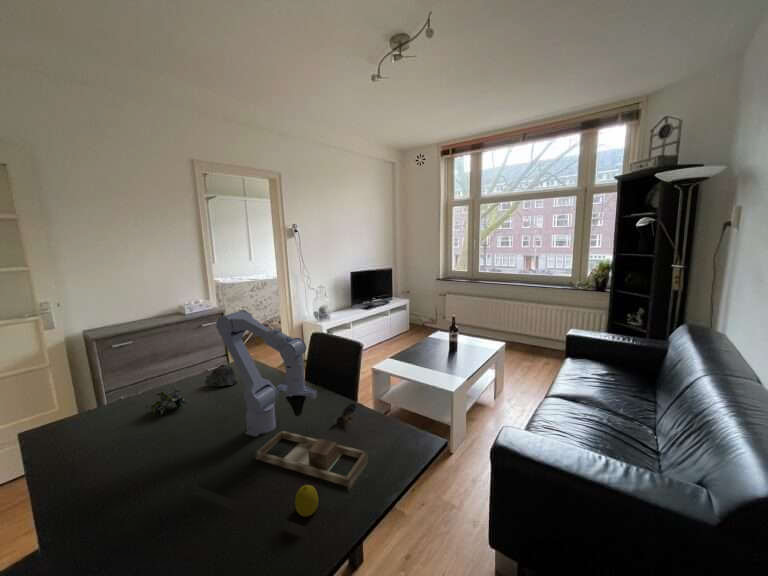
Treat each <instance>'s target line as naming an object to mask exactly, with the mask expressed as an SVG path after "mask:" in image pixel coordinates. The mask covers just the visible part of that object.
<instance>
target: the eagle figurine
mask: <svg viewBox="0 0 768 576" xmlns="http://www.w3.org/2000/svg"><path fill="white" fill-rule="evenodd" d="M356 408H357V406H356V404H355V403H350V404H348V405H347V406H346V407H345V408H344V409H343V410H342V414H341V415H338V416H336V417H334V418H333V421H334V422H337V421H338V422H340V423H339V424H338V426H341V427H345V426H346V425H347V424H350V425H352V419H350V415H352V413H354V412H355V411H356Z"/></svg>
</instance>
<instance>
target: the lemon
mask: <svg viewBox="0 0 768 576" xmlns="http://www.w3.org/2000/svg"><path fill="white" fill-rule="evenodd" d="M294 506H295V510H296V512H297V514H299V515H300V516H301V517H304V518H306V517H307V518H308V517H311V516H312V515H313V514H315V512H316V510H317V508H318V506H319V495H318V492H317V490H316V488H315V487H314V486H313V485H312V484H311V485H310V484H304V485H302V486H301V487H300V488H299V489H298V490H297V491H296V495H295V497H294Z"/></svg>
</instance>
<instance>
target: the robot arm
mask: <svg viewBox="0 0 768 576" xmlns="http://www.w3.org/2000/svg"><path fill="white" fill-rule="evenodd" d="M215 327H216V329H217V331H218V333H219V335H220V337H221V340H222V341H223V342H224V344H225V347H226V348H227V350H228V352H229V354H230V357H231V358H232V360H233V362H234V364H235V366H236V368H237V370H238V372H239V374H240V376H241V377H242V380H243V381H244V384H245V385H246V389H245V391H244V393H243V397H244V400H245V405H246V408H247V410H246V413H245V422H246V429H247V431H246V432H245V434H246V435H247V436H248V435H249V436H252V437H255V438H256V437H258V436H259V435H261V434H267V433H269V432H271V431H273V430H275V428H276V426H277V424H276V423H277V421H276V414H275V413H276V412H275V411H276V410H275V405H276V401H277V399H278V398H279V393H282V392H283V393H285V394H286V397H285V398H286V401H287V402H288V403H289V405H290V407H291V409H292V412H293V415H294V416H295V417H300V416H301V415H302V414H303V408H304V404H305V401H306V399H307V397H308V398H310V399H312V400H315V399H316V398H317V397H318V394H317V393H318V392H317V391H318V390H315V389H312V388H310V387H308V386H306V380H305V379H306V377H305V366H304V364H305V363H304V353H306V350H307V346H306V343H305V341H304V340H303V339H302V338H300V337H292V336H289V335H287V334H286V333H284V332H282V331H281V330H280V329H279V328H272V329H270V328H268V327H267V326H265V325H264V324H262V323H261V322H259V321H258V320H257V319H255V318H254V317H253V315H252V313H251V312H248V311H247V310H245V309H240V310H238V311H236V312H231V313H229V314H225V315H224V314H223V315H220V316H219V317H218V318H217V322H216V326H215ZM247 331H248V332H249V333H252V334H253V335H256V336H258V337H260V338H262V339H263V341H264V344H266V345H267V346H268V347H269V348H272V349H273V350H275V351H277V352H278V353H279V356H280V358H282V360H283V364H284V367H285V368H284V369H285V378H286V384H279V385H277V386H276V387H275V386H274V385H273V383H272V381H270V380H269V379H266V378H263V377H262V376H261V375H262V374H261V373H260V372H259V369H258V367H257V366H256V363H255V361H254V360H253V358H252V356H251V354H250V353H249V351H248V348H247V347H246V344H245V342H244V341H243V337H244V335H245V333H246V332H247Z"/></svg>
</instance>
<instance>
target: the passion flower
mask: <svg viewBox="0 0 768 576" xmlns="http://www.w3.org/2000/svg"><path fill="white" fill-rule="evenodd" d="M171 389H172V390H173V391H174V392H170V391H167V390H161V391H160V393H159V392H155V395H156V396H159V398H160V400H157V401H155V403H154V404H152V405H149V404H145V409H146V410H147V409H148V407H150V410H151V411H153V410H154V411H153V415H155V414H156V412H157V411H158V408H160V407H161V408H160V409H159V411H160V415H161V416H162V414H163V413H164V412H165V411H166V408H167V407H168V405H169V404H170V403H175V405H176V407H178V406H180V407H181V408H182V407H183V405H185V404H187V402H188V401H186V400H185V398H184V397H183V396H181V395H180V394H177V392H179V393H181V392H182V390H180V389H179V388H178V387H177V388H176V387H171ZM164 402H166V403H165V405H163V403H164ZM180 407H179V408H180Z"/></svg>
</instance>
